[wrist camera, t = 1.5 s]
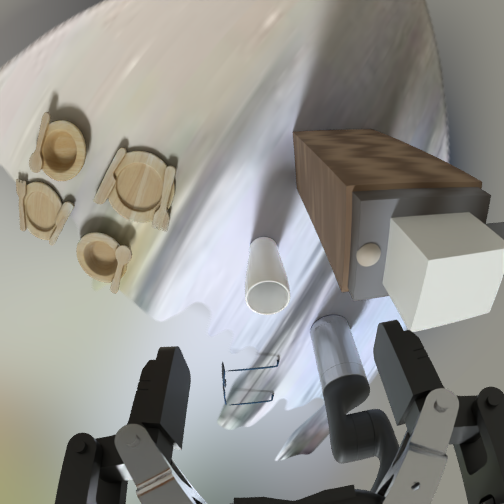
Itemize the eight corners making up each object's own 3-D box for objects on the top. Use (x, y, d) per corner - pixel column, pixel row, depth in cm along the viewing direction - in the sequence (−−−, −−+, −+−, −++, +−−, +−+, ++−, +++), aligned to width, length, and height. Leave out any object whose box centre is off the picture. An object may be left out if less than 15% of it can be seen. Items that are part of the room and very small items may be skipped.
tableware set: (197, 175, 51) (193, 182, 47) (137, 291, 63) (132, 303, 60) (43, 97, 41) (31, 99, 38) (13, 219, 53) (3, 227, 50)
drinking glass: (269, 225, 55) (276, 272, 42) (287, 252, 58) (298, 303, 45) (238, 243, 57) (235, 293, 44) (257, 269, 60) (260, 321, 47)
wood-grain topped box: (372, 129, 46) (496, 190, 19) (372, 183, 51) (473, 284, 24) (292, 131, 47) (354, 195, 20) (296, 188, 52) (347, 307, 25)
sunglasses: (220, 357, 74) (222, 372, 70) (278, 352, 76) (282, 366, 72) (223, 393, 82) (224, 407, 78) (272, 389, 85) (275, 402, 80)
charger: (541, 208, 20) (577, 235, 15) (528, 257, 23) (558, 287, 18) (390, 217, 21) (428, 260, 16) (382, 283, 24) (409, 332, 19)
